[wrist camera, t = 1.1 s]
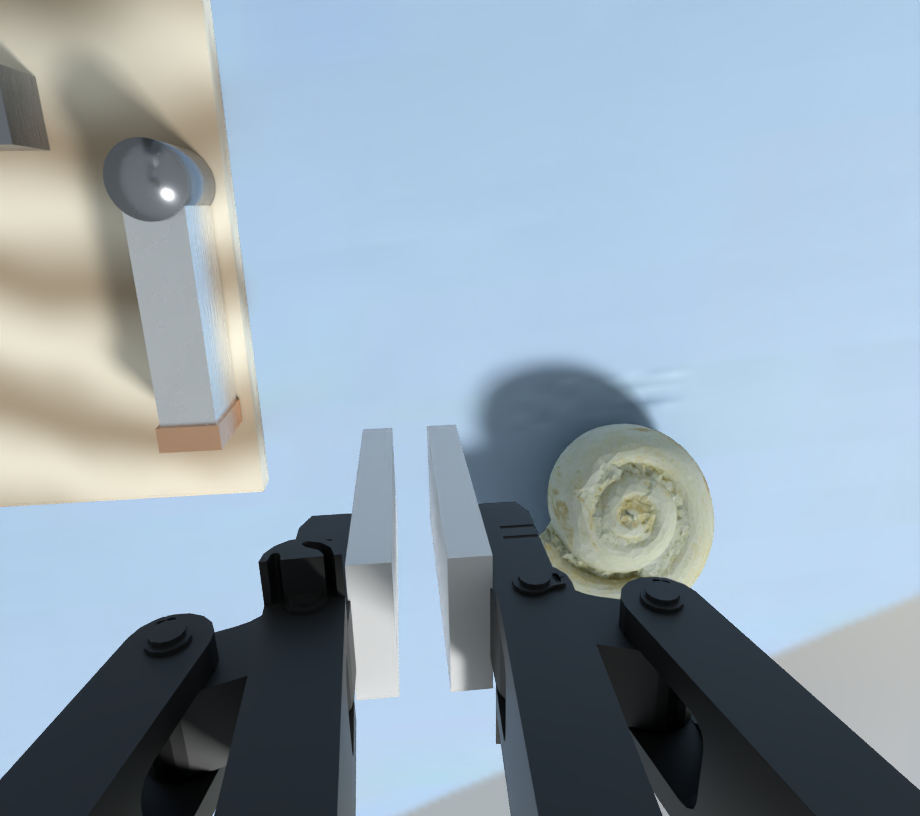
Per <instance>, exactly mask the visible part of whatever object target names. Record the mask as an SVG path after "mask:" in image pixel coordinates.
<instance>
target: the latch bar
mask: <svg viewBox="0 0 920 816" xmlns="http://www.w3.org/2000/svg"><path fill="white" fill-rule="evenodd" d="M103 181H104V185H105V188H106V191H107V193H108V195H109V197H110V198H111V200H112V201H113V203H114V204H115V205H116V206H117V207H118V208H119V209H120V210H121V211H122V213H123V219H124V225H125V230H126V236H127V242H128V247H129V253H130V259H131V265H132V270H133V276H134V282H135V287H136V293H137V299H138V304H139V310H140V316H141V321H142V327H143V333H144V339H145V344H146V350H147V356H148V361H149V367H150V373H151V378H152V384H153V390H154V395H155V401H156V407H157V412H158V418H159V424H160V425H159V426H157V427H156V428H155V431H156V437H157V442H158V448H159V453H174V452H193V451H212V450H222V449H223V448H224V446H225V445H226V444H227V442H228V441H229V439H230V438H231V436H232V435H233V434H234V432H235V431H236V429H237V428H238V426H239V425H240V424H241V422H242V421H243V420H242V412H241V405H240V399H237V397H236V389H235V382H234V374H233V367H232V360H231V352H230V345H229V337H228V330H227V322H226V315H225V307H224V300H223V292H222V285H221V277H220V270H219V262H218V255H217V247H216V240H215V232H214V225H213V217H212V210H211V205H212V203H213V200H214V198H215V193H216V182H215V178H214V175H213V172H212V170H211V168H210V167H209V165H208V164H207V162H206V161H205V160H204V159H203V158H202V157H201V156H200V155H198V154H197V153H195V152H194V151H191V150H189V149H186V148H183V147H179V146H176V145H172V144H168V143H165V142H161V141H157V140H154V139H150V138H145V137H132V138H127V139H125V140H122V141H121V142H119V143H117V144H116V145H115V146H114V147H113V148H112V149H111V150H110V151H109V153H108V154H107V156H106V159H105V162H104V166H103Z"/></svg>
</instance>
